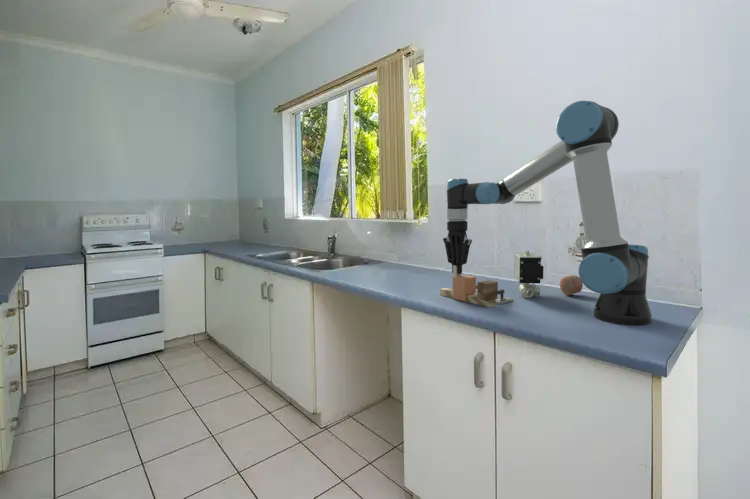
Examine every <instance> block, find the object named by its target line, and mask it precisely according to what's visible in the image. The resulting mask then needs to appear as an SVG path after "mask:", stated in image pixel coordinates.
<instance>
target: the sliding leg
mask: <svg viewBox="0 0 750 499" xmlns="http://www.w3.org/2000/svg"><path fill="white" fill-rule="evenodd" d="M452 289H453V298H452V299H453V300H459V301H461V302H462V301H463V302H466V301H467V294H474V295H475V293H476V290H477V277H476V276H472V275H466V274H461V275H460V276H454V277H453V276H452ZM466 303H467V302H466Z"/></svg>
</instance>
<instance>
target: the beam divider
mask: <svg viewBox="0 0 750 499" xmlns="http://www.w3.org/2000/svg"><path fill="white" fill-rule="evenodd" d="M498 284H499V282H498V281H495V280H490V279H487V280H483V281H476V285H477V289H476V290H477V295H474V294H467V301H466V303H470V304H473V305H479V306H482V307H487V308H494V307H496V299H497V298H498V295H500V296H501V298H503V296H504V294H505V289H498V288H499V287H498V286H499V285H498ZM439 292H440V293H439V295H440V296H443V297H448V298H451V299H453V288H452V289H451V288H448V287H442V288H439Z"/></svg>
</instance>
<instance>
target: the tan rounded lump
mask: <svg viewBox="0 0 750 499" xmlns="http://www.w3.org/2000/svg"><path fill="white" fill-rule="evenodd" d="M583 286H584V284H583V283H582V281H581V279H580V277H579V275H573V274H572V275H564V276H562V277H561V279H560V280H559V288H560V290H561V292H562V293H563V294H564V295H565V296H568V297H569V296H571V295H575V294H578V293H581V291H582V290H583Z"/></svg>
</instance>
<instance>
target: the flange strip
mask: <svg viewBox="0 0 750 499" xmlns="http://www.w3.org/2000/svg"><path fill="white" fill-rule="evenodd" d="M475 295H477V289H476V293H475ZM513 301H514V297H513V298H512V297H508V296H504V295H503V298H501V294H498V298H497V299H496V305H497V306H498V305H503V304H506V303H510V302H511V303H512V302H513Z"/></svg>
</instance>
